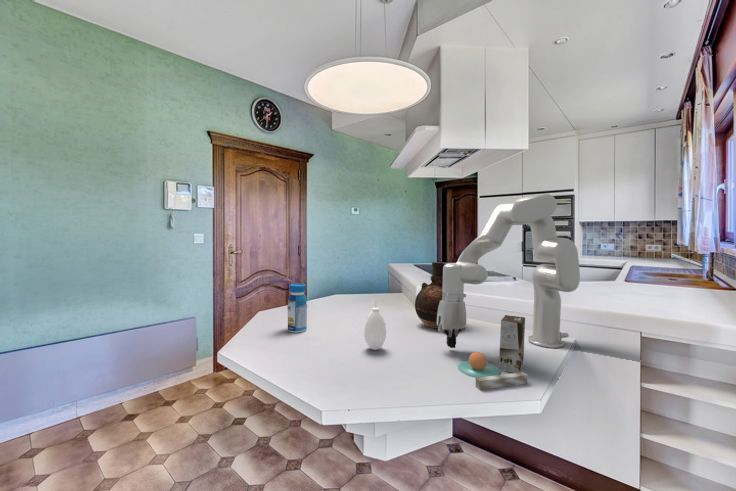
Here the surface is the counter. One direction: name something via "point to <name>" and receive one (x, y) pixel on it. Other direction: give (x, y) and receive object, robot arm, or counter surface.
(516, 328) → the coffee box
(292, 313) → the beverage bottle
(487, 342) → the counter surface
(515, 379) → the strip
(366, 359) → the counter surface
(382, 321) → the sauce bottle
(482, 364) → the ball
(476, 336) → the counter surface
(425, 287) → the ceramic vessel
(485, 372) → the teal disc
